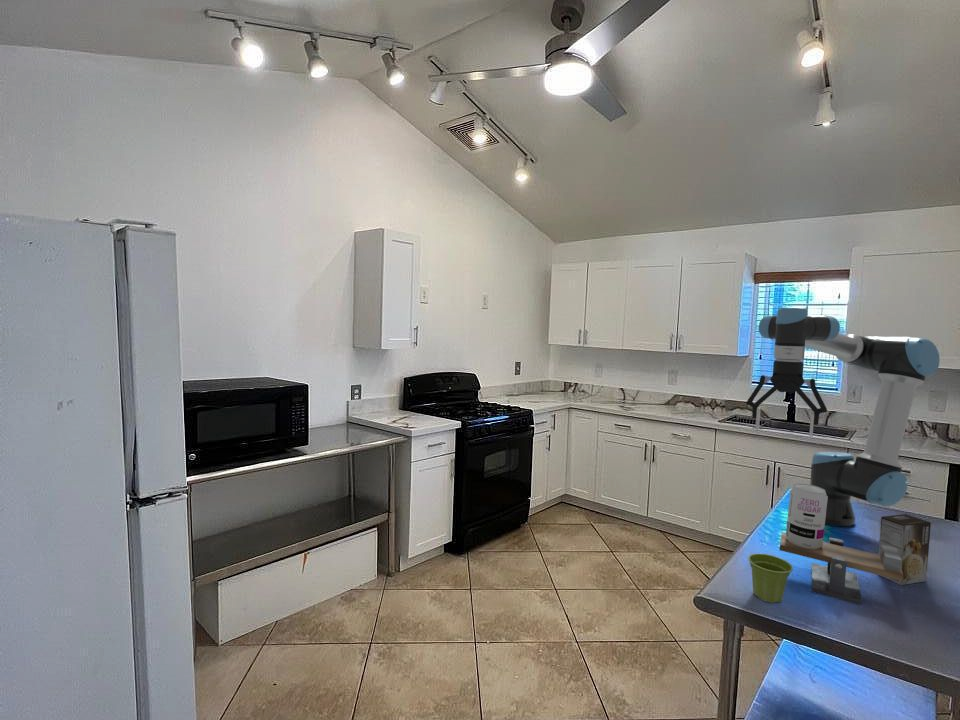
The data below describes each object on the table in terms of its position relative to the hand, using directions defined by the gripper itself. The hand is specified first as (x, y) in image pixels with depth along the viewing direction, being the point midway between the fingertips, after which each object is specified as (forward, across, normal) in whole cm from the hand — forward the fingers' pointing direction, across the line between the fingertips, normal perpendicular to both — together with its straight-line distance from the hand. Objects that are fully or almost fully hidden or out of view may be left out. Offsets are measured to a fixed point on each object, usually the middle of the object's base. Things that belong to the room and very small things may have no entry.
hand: (783, 432), depth 150 cm
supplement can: (+26, +7, -17) cm, 32 cm away
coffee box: (+35, +29, -2) cm, 45 cm away
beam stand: (+35, +14, -17) cm, 41 cm away
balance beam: (+27, +14, -17) cm, 35 cm away
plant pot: (+35, 0, -34) cm, 49 cm away
